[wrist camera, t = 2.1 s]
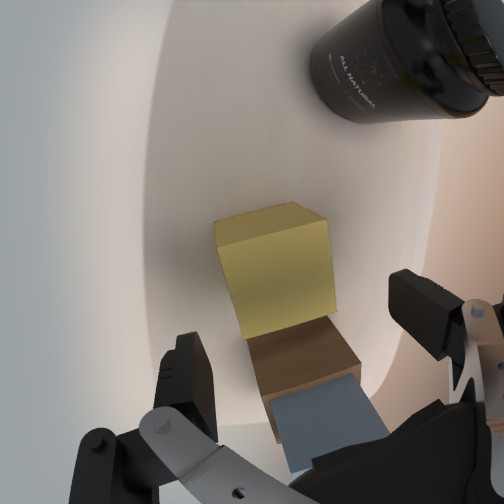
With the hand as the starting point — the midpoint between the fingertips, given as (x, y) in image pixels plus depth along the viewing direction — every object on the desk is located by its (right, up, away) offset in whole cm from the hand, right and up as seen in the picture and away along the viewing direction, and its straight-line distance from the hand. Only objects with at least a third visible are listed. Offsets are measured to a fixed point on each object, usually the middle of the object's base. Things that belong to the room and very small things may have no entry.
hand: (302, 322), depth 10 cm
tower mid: (+2, -7, +5) cm, 9 cm away
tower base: (+1, -5, +10) cm, 12 cm away
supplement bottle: (+5, +14, +4) cm, 16 cm away
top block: (-1, +3, +7) cm, 8 cm away
